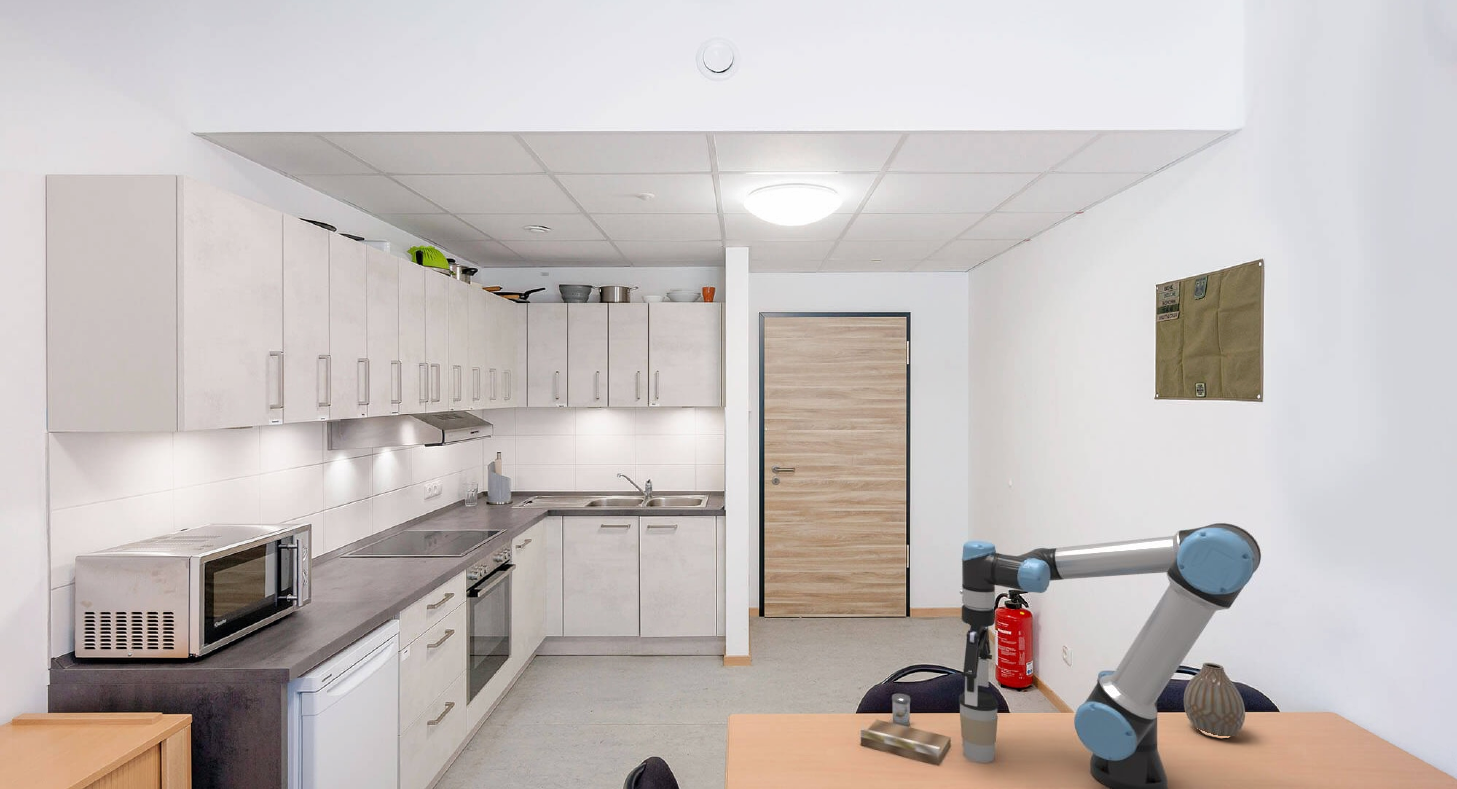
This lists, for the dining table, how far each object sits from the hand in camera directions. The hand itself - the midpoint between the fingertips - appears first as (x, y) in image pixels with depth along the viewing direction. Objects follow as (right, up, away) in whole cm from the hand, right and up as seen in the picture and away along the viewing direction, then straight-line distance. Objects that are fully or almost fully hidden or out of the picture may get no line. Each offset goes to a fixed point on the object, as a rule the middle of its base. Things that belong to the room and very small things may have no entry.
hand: (976, 694), depth 167 cm
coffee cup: (0, -15, -1) cm, 15 cm away
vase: (+67, -16, +13) cm, 70 cm away
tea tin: (-14, -15, +16) cm, 26 cm away
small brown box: (-16, -14, +4) cm, 22 cm away
